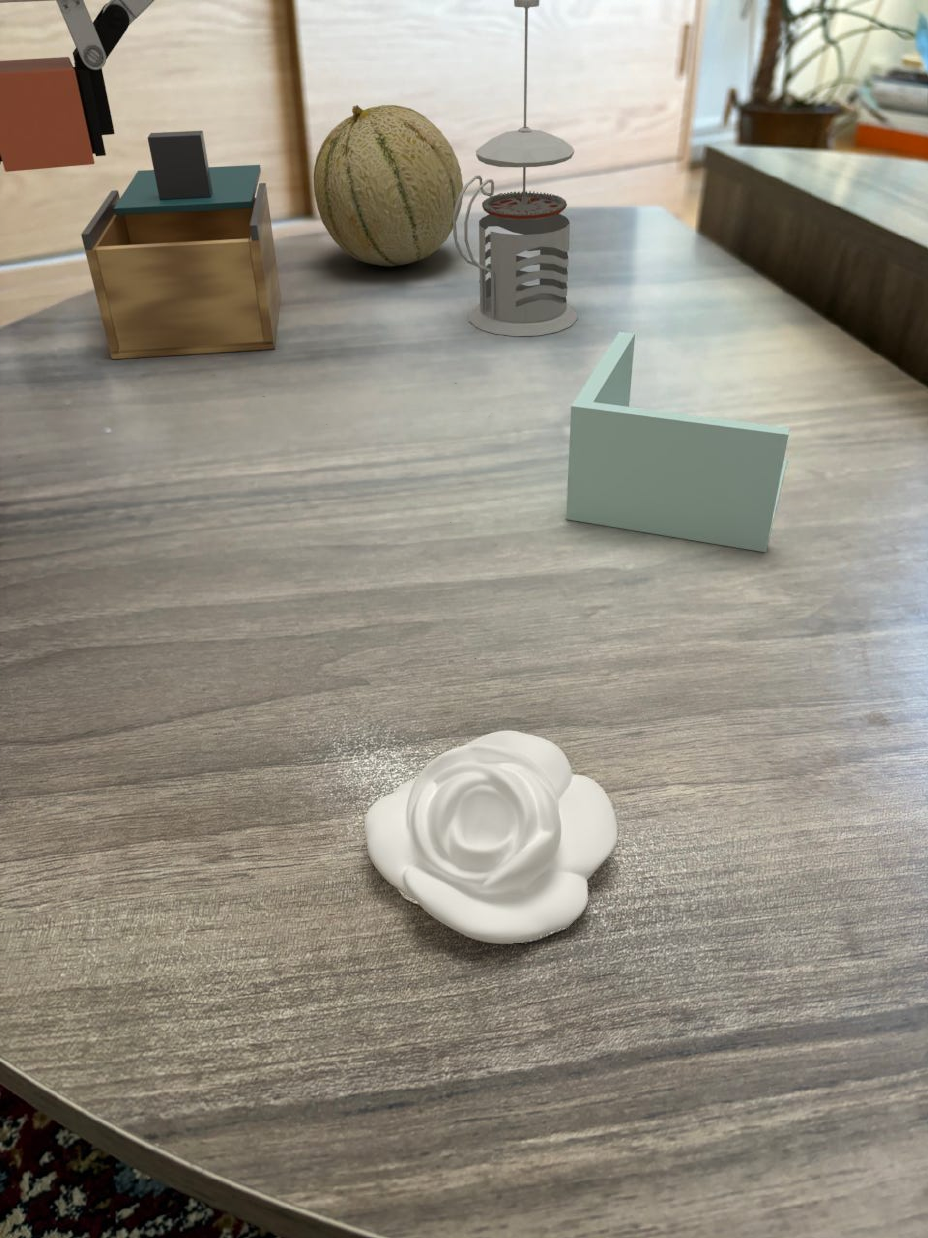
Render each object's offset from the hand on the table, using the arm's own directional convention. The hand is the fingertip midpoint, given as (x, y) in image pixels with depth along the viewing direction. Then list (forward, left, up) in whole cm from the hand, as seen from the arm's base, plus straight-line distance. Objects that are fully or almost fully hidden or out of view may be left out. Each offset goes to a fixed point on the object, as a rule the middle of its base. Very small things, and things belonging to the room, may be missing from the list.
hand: (46, 150), depth 53 cm
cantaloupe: (+19, +45, -21) cm, 54 cm away
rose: (+19, -33, -21) cm, 43 cm away
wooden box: (+1, +30, -21) cm, 37 cm away
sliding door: (+1, +39, -11) cm, 41 cm away
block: (0, 0, 0) cm, 0 cm away
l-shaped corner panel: (+35, -5, -21) cm, 41 cm away
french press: (+29, +27, -21) cm, 45 cm away
